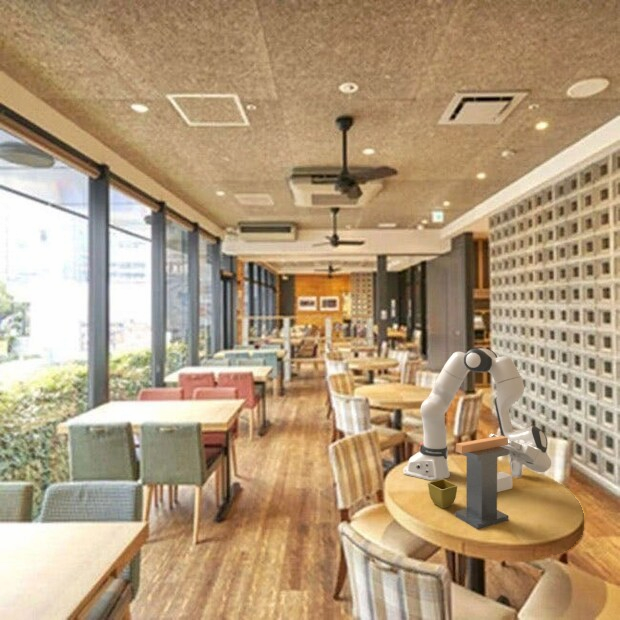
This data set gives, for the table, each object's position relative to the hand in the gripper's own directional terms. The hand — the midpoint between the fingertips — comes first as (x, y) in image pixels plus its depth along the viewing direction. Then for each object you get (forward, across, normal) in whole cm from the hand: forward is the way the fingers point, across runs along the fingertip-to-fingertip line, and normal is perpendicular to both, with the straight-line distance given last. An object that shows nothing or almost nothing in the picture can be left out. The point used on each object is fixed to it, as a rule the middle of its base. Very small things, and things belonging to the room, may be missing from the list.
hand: (499, 438), depth 189 cm
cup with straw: (-49, -26, +7) cm, 56 cm away
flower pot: (-2, -16, +34) cm, 38 cm away
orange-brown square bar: (+7, 0, +7) cm, 10 cm away
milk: (-35, -19, +11) cm, 42 cm away
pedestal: (-7, 0, +31) cm, 32 cm away
